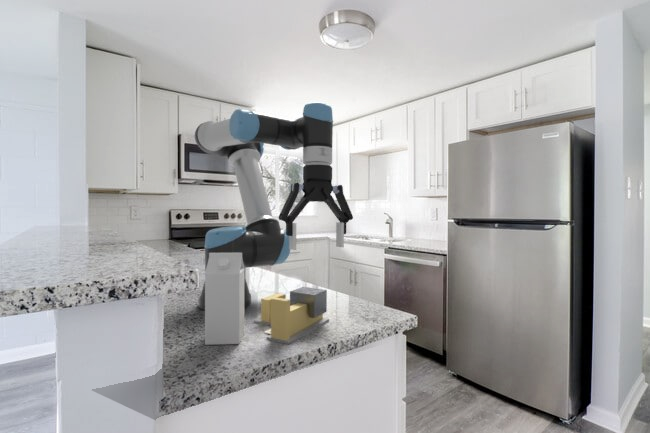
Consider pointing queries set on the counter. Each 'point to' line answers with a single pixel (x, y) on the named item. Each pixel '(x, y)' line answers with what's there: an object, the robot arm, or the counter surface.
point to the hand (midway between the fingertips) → (317, 248)
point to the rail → (291, 321)
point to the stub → (267, 309)
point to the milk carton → (224, 299)
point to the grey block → (310, 300)
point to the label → (268, 331)
